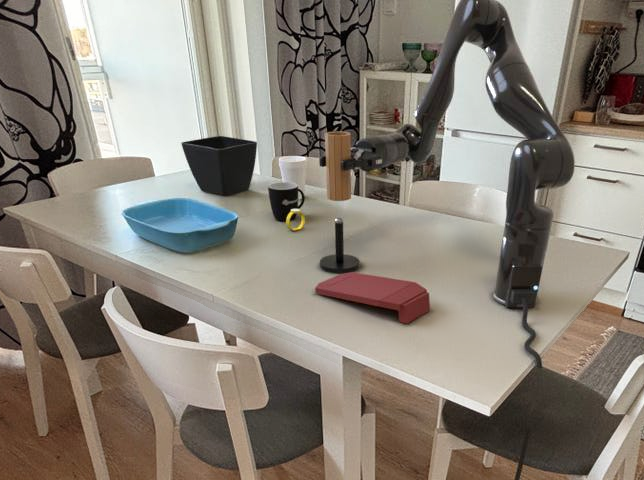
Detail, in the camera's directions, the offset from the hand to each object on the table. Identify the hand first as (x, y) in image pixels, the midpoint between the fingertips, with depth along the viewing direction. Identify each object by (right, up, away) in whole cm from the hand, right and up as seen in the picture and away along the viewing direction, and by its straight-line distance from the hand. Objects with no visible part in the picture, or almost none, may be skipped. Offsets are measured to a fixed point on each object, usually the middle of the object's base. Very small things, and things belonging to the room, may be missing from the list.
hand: (331, 163), depth 116 cm
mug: (-17, +1, +48) cm, 51 cm away
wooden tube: (+1, -6, +6) cm, 8 cm away
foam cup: (-18, +14, +68) cm, 72 cm away
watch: (-13, -5, +38) cm, 41 cm away
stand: (+1, -20, +15) cm, 25 cm away
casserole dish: (-44, -9, +31) cm, 55 cm away
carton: (+9, -31, -2) cm, 32 cm away
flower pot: (-44, +18, +75) cm, 89 cm away
